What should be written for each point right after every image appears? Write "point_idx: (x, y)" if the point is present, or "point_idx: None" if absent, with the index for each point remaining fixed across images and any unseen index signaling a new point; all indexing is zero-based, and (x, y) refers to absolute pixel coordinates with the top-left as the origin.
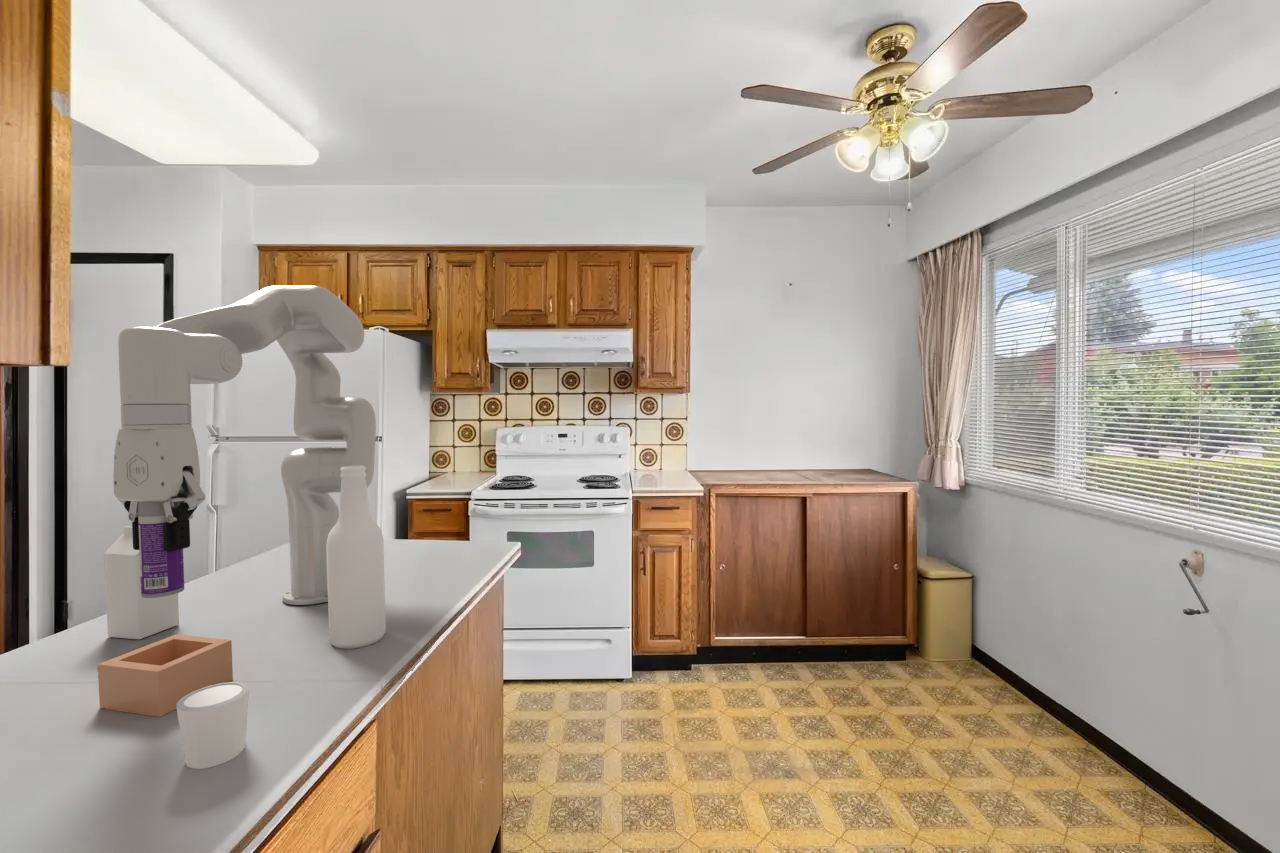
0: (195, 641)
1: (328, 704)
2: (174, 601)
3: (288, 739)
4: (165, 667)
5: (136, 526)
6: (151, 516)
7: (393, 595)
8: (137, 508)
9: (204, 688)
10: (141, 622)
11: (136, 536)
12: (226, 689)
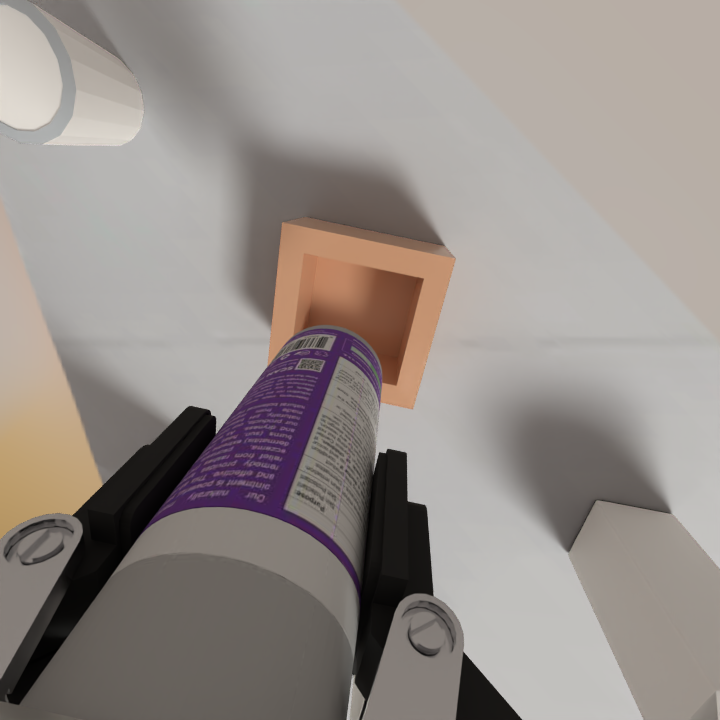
0: None
1: (63, 265)
2: (590, 592)
3: (31, 151)
4: (285, 244)
5: (378, 547)
6: (154, 556)
7: None
8: (370, 704)
9: (60, 102)
10: (609, 527)
11: (382, 496)
12: (16, 104)
